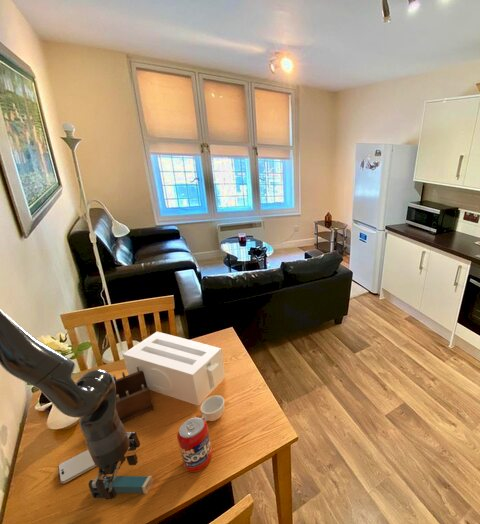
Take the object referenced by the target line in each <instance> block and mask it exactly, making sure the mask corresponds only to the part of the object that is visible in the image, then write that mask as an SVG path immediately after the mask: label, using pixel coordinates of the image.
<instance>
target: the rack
mask: <svg viewBox="0 0 480 524" xmlns="http://www.w3.org/2000/svg"><path fill="white" fill-rule="evenodd" d="M137 371H138V372H136V373H133V374H130V375H128V374H127V375H126V374H125V371H122V372H121V375H122V377H119V378H117V377H116V374H114V375H112V377H113V379H114V381H115V385H116V410H117V412H118V415H119V418H120V420H121V422H122V423H123V425H124V424H126V423H128V422H130V421H133V420H135V419H137V418H139V417H141V416H143V415H146V414H148V413H150V412H152V411H155V408H154V404H153V401H152V397H151V394H150V390H149V389H148V387H147V384H146V380H145V376H144V372H143V371H140V370H139V367H137Z"/></svg>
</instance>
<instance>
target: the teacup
mask: <svg viewBox="0 0 480 524" xmlns="http://www.w3.org/2000/svg"><path fill="white" fill-rule="evenodd" d="M225 410H226V409H225V398H224V397H223V396H222V395H216V394H215V395H211V396H208V397H206V398H205V399H204V400H203V402H202V403H201V404H200V413H201V417H200V418H202V419H203V420H204V421H206V422H214V421H217V420H219V419H220V418H221V417H222V416H223V415H224V413H225Z"/></svg>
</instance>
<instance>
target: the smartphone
mask: <svg viewBox="0 0 480 524" xmlns="http://www.w3.org/2000/svg"><path fill="white" fill-rule="evenodd" d="M95 467H98V466H97V465H95V464H94V462H93V460H92V457H91V455H90V453H89V450H88V449H86V450H84V451H81V452H80V453H78V454H76V455H74V456H71V457H70V458H68V459H65V460H64V461H62V462H60V463H59V465H58V467H57V469H58V476H59V481H60V483H61V484H66V483H68V482H70V481H71V480H74V479H76V478H77V477H79V476H80V475H83V474H85V473H87V472H89V471H91V470H93V469H94V468H95Z"/></svg>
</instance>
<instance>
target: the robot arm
mask: <svg viewBox="0 0 480 524" xmlns="http://www.w3.org/2000/svg"><path fill="white" fill-rule="evenodd" d="M0 366H1V368H3V370H5V371H6V372H7V373H8V374H10V375H12V376H13V377H15V378H17V379H19V380H20V381H23V382H24V383H26V384H28V385H30V386H32V387H34V388H35V389H37V390H39V391H40V392H41V393H42V394H43V395H44V397H46V399H47V400H48V401H49V402H50V403H51V404H52V405H53V406H54V407H55V408H56V409H57V410H58V411H59V412H60V413H62V414H63V415H65V416H67V417H70V418H74V419H75V418H76V419H78V418H79V421H78V422H79V423H78V425H79V429H80V431H81V433H82V436H83V437H84V442H85V446H86V448H87V450H89V453H90V455H91V457H92V460H93V462H94V464H95V465H97V466H96V467H97V468H98V474H97V475H96V477H95V478H92V479H90V480H89V481H88V483H87V484H88V487H89V491H90V493H91V496H92V499H102V500H103V499H104V500H107V501H108V500H109V501H111V500H114V499H116V497H117V494H118V493H116V492H115V489H114V487H113V484H114V480H116V478H117V476H118V473H119V470H120V469H121V467H122V466H123V464H124V463H125V462H126V461H127V464H128V465H129V466H136V465H137V464H138V463H139V462H138V455H137V451H138V450H137V449H138V448H139V447H140V446H141V442H140V439H139V436H138V434H137V433H136V432H135V431H126V428H125V425H124V424H123V423H122V422H121V420H120V418H119V415H118V412H117V410H116V385H115V381H114V379H113V375H112V374H111V373H109V372H108V371H106V370H103V369H92V370H89V371H87V372H86V373H84V374H82V375H81V376H80V377H79V378H78V379H77V381H74V379H73V377H72V375H73V373H74V370H75V369H76V363H75V362H74V361H73V360H72V359H70V358H69V357H67V356H65V355H64V354H61V353H60V352H59V351H56V350H55V349H53V348H51V347H50V346H48V345H47V344H45V343H44V342H41V341H40V340H39V339H38V338H36V337H34V336H33V335H31V334H30V333H29V332H28V331H26V330H25V329H24V328H22V326H21V325H19V324H18V323H17V322H15V321H14V320H13V319H12V318H11V317H10V316H9V315H7V314H6V313H5V312H4V311H3V310H2V309H0ZM110 475H111V476H112V477H107V476H110ZM106 482H109V485H108V486H105V485H106Z"/></svg>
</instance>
